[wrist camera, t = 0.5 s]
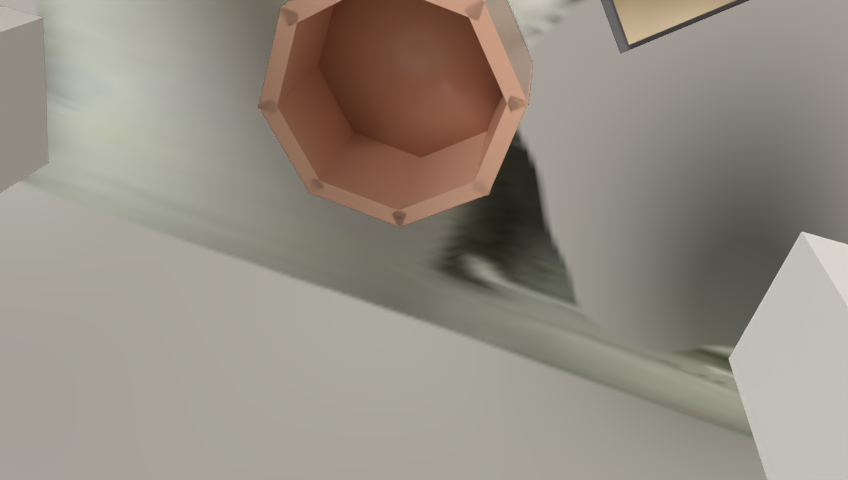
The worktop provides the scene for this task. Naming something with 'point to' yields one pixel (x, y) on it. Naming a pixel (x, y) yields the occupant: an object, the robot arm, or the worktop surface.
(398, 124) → the terracotta bowl
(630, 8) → the oak lid
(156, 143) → the worktop surface
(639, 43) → the rubber mat
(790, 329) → the robot arm
